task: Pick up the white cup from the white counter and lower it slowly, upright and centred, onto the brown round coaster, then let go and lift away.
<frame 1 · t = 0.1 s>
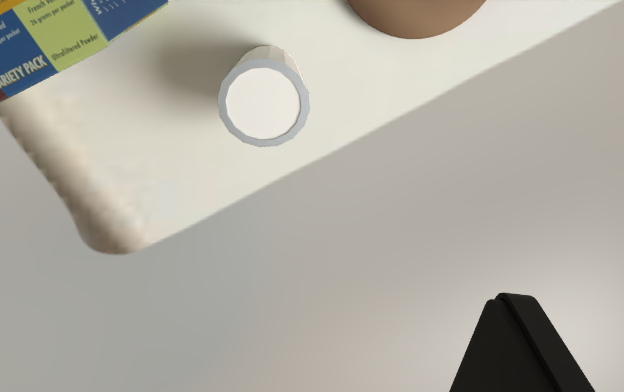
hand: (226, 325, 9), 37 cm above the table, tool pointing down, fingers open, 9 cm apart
white cup: (267, 78, 44), on the table
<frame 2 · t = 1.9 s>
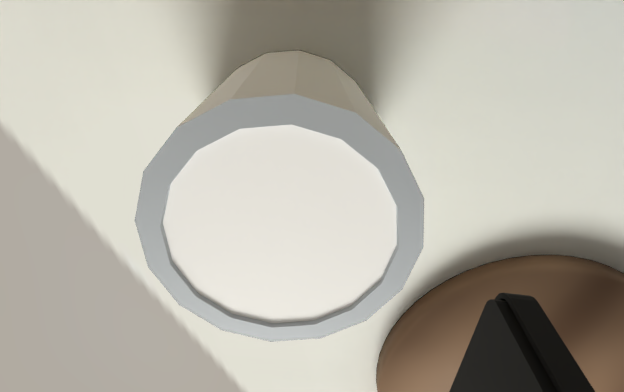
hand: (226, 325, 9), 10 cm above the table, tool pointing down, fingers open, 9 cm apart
brown round coaster: (516, 371, 24), on the table
white cup: (291, 128, 18), on the table
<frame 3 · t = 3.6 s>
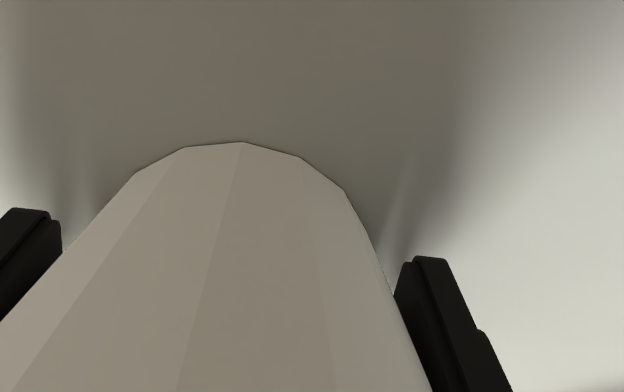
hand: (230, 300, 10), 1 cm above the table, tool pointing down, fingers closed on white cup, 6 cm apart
white cup: (237, 260, 11), on the table, touching gripper
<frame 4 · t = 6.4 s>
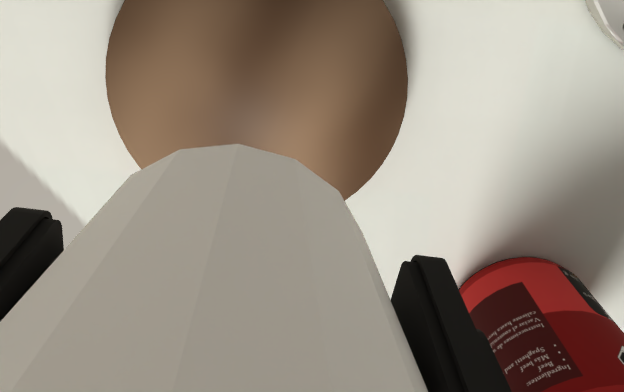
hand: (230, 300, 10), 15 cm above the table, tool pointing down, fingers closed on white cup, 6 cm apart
brown round coaster: (260, 89, 24), on the table
white cup: (233, 261, 11), point 14 cm above the table, touching gripper
canned food: (511, 303, 31), on the table
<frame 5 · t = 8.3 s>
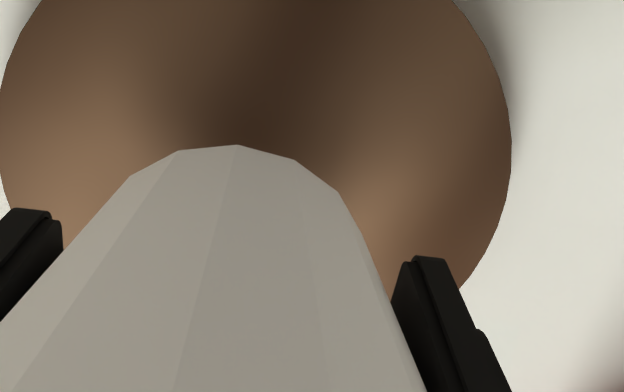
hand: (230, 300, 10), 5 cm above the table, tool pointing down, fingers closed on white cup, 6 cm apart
brown round coaster: (262, 174, 14), on the table
white cup: (232, 262, 11), point 4 cm above the table, touching gripper
when the fingers open (4 cm above the table, at t = 9.6 s): white cup drops 1 cm, resting on brown round coaster.
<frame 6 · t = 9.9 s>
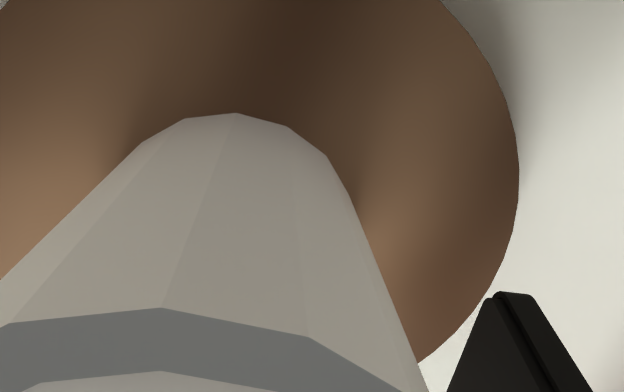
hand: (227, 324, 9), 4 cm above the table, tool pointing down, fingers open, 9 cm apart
brown round coaster: (246, 203, 13), on the table
white cup: (234, 222, 12), point 1 cm above the table, touching brown round coaster
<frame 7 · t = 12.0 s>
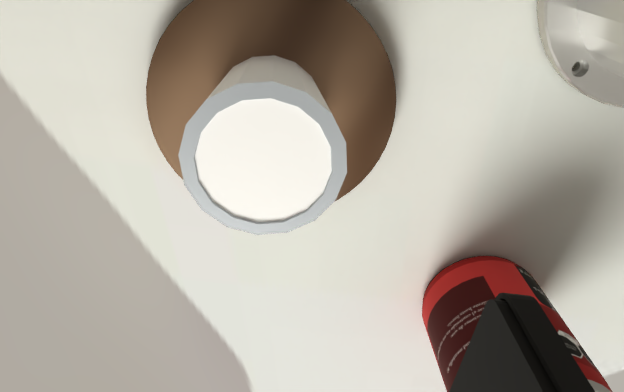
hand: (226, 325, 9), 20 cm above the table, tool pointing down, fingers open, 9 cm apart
brown round coaster: (273, 103, 28), on the table
white cup: (268, 107, 27), point 1 cm above the table, touching brown round coaster
canned food: (475, 296, 35), on the table
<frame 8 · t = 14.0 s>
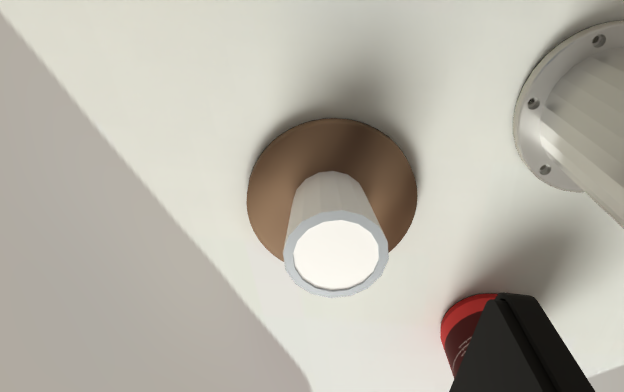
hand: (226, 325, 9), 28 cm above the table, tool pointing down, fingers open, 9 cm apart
brown round coaster: (331, 197, 40), on the table
white cup: (329, 202, 39), point 1 cm above the table, touching brown round coaster
canned food: (480, 322, 47), on the table
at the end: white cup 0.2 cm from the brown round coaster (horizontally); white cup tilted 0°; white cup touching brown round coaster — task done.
